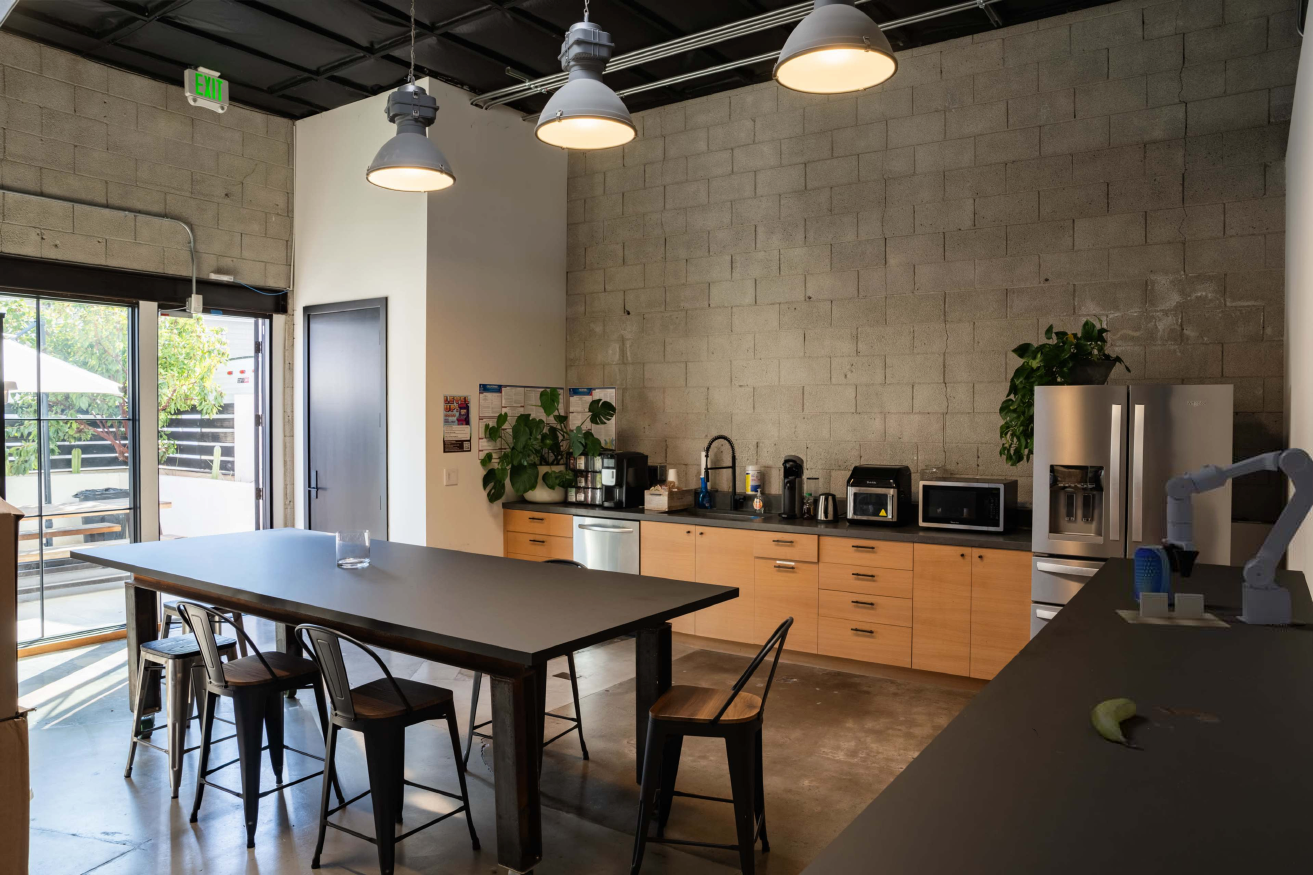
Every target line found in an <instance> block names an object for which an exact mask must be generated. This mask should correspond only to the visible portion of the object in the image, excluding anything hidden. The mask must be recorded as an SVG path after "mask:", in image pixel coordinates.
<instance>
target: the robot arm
mask: <svg viewBox="0 0 1313 875" xmlns="http://www.w3.org/2000/svg"><path fill="white" fill-rule="evenodd" d="M1278 467H1279V468H1280V469H1281V470H1282V471H1283V473H1285V475H1286V476H1288V477H1289V479H1290V482H1291V483H1292V485H1293V487H1294V489H1295V491H1294V492H1293V494H1292V496H1291V498H1290V499H1289V501H1288V503H1287V504H1286V506H1285V508H1284V509H1283V511H1282V512H1281V514H1280V515H1279V517H1278V519H1277V520H1276V523H1275V524H1274V526H1273V528H1272V529H1271V531H1270V532H1269V534H1268V536H1267V538H1266V539H1265V542H1264V543H1263V544H1262V546H1261V548H1260V549H1259V551H1258V553H1257V554H1256V555H1255V556H1254V557H1253V558H1251V559H1249V560H1248V561H1247V562H1246V564H1245V565H1244V569H1243V572H1242V574H1243V578H1244V580H1245V581H1244V582H1242V583H1241V589H1242V594H1241V595H1242V596H1241V597H1242V599H1241V600H1242V615H1241V616H1239V615H1236V618H1237V619H1238V620H1240V621H1242V622H1243V623H1246V624H1248V625H1266V624H1267V625H1268V624H1270V625H1269V626H1271V625H1272V624H1274V625H1272V626H1288V625H1287V624H1286V625H1285V624H1283V625H1282V623H1291V624H1292V600H1291V594H1290V591H1289V590H1288V589H1287V588H1286V587H1279V586H1278V584H1277V583H1275V582H1274V581H1275V577H1276V569H1277V566H1278V565H1279V562H1281V559H1282V557H1283V555H1284V554H1285V552H1286V550H1287V549H1288V547H1289V546H1290V544H1291V542H1292V540H1293V539H1294V537H1295V535H1296V534H1297V531H1299V529H1300V527H1301V525H1302V523H1304V521H1305V519H1306V518H1307V516H1308V514H1309V512H1310V511H1311V509H1312V507H1313V458H1312V457H1311V456H1310V454H1309V453H1308V452H1307V451H1306V450H1304V449H1302V448H1297V447H1293V448H1292V447H1291V448H1287V449H1286V450H1284V451H1282V450H1278V451H1273V452H1266V453H1262V454H1260V455H1256V456H1254V457H1250V458H1248V459H1245V460H1242V461H1239V462H1236V463H1235V462H1234V463H1233V464H1230V465H1226V466H1225V467H1221V466H1218V465H1215V464H1212V465H1210V464H1204V465H1203V466H1202V468H1200V469H1197V470H1194V471H1190V472H1188V471H1184V472H1182V475H1183V476H1181V475H1180V476H1178V475H1177V476H1174V477H1172V478H1170V479H1169V480H1168V481H1167V482H1166V484H1165V492H1166V494H1167V498H1166V501H1167V504H1166V529H1167V530H1166V531H1167V532H1166V536H1167V537H1166V538H1162V539H1161V542H1163V543H1167V544H1168V545H1165V544H1164V545H1161V546H1162V547H1163V549H1164V551H1165V553H1166V555H1167V558H1168V561H1169V566H1170V573H1172V574H1173V573H1175V574H1176V573H1178V574H1179V577H1180V578H1189V579H1190V578H1191V577H1192V574H1193V573H1192V572H1193V569H1194V564H1195V562H1196V559H1197V558H1198V556H1199V555H1200V551H1199V550H1194V549H1195V548H1194V547H1195V546H1194V543H1195V539H1194V522H1193V520H1194V519H1193V514H1194V512H1193V511H1194V510H1193V508H1194V507H1193V504H1192V494H1196V495H1197V494H1199V495H1200V494H1202V493H1205V492H1208V491H1212V490H1215V489H1218V488H1221V487H1224V486H1225V485H1226V484H1227V481H1228V480H1229V479H1232V478H1236V477H1240V476H1242V475H1246V474H1251V473H1254V472H1257V471H1258V472H1259V471H1261V470H1266V471H1267V470H1269V471H1275V472H1277V471H1278ZM1276 624H1277V625H1276ZM1279 624H1280V625H1279ZM1267 625H1266V626H1267Z"/></svg>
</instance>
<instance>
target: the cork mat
mask: <svg viewBox="0 0 1313 875" xmlns="http://www.w3.org/2000/svg"><path fill="white" fill-rule="evenodd" d="M1115 612H1117V613H1118V614H1119V615H1120V616H1121V617H1122V618H1124V620H1126V621H1127V622H1128V623H1129V624H1146V625H1147V624H1149V625H1169V626H1170V625H1172V626H1196V627H1217V628H1218V627H1219V628H1232V626H1231V625H1229V624H1227V623H1226V622H1225V621H1223V620H1221V619H1219V618H1218V617H1216V616H1214V615H1213V614H1211V613H1205V612H1204V619H1186V618H1176V617H1175V611H1168V618H1161V617H1141V616H1140V610H1124V609H1115Z"/></svg>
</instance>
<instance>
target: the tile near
mask: <svg viewBox="0 0 1313 875" xmlns="http://www.w3.org/2000/svg"><path fill="white" fill-rule="evenodd" d="M1204 600H1205V599H1204V595H1203V594H1202V593H1199V594H1198V593H1177V592H1176V593H1174V612H1175V617H1176V618H1186V619H1204V613H1205V612H1204V610H1205V609H1204V606H1205V605H1204Z"/></svg>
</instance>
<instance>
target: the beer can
mask: <svg viewBox="0 0 1313 875" xmlns="http://www.w3.org/2000/svg"><path fill="white" fill-rule="evenodd" d="M1162 546H1163V545H1158V544H1157V545H1156V544H1141V545H1140V544H1139V545H1138V548H1137V549H1136V551H1135V552H1134V599H1135V600H1136V601H1137V603H1138V604H1140V592H1147V593H1167V594H1168V603H1170V602H1171V569H1170V566H1169V561H1168V558H1167V555H1166V553H1165V551H1164V549H1163V547H1162Z"/></svg>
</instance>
